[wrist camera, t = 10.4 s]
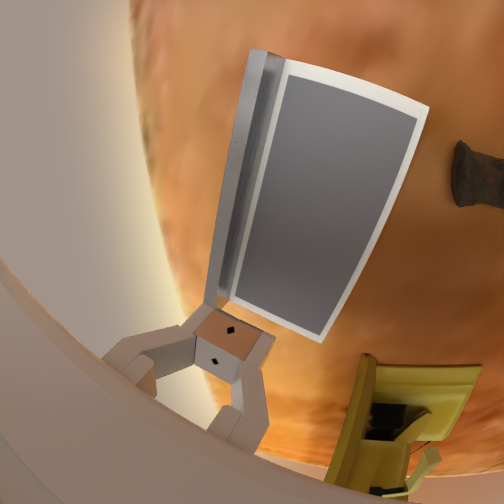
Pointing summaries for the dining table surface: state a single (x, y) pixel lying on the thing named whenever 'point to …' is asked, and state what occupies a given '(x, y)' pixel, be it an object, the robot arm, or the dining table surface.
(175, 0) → the dining table surface
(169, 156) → the dining table surface
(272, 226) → the grey open box
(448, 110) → the dining table surface
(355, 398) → the vintage telephone
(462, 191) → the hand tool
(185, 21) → the dining table surface
